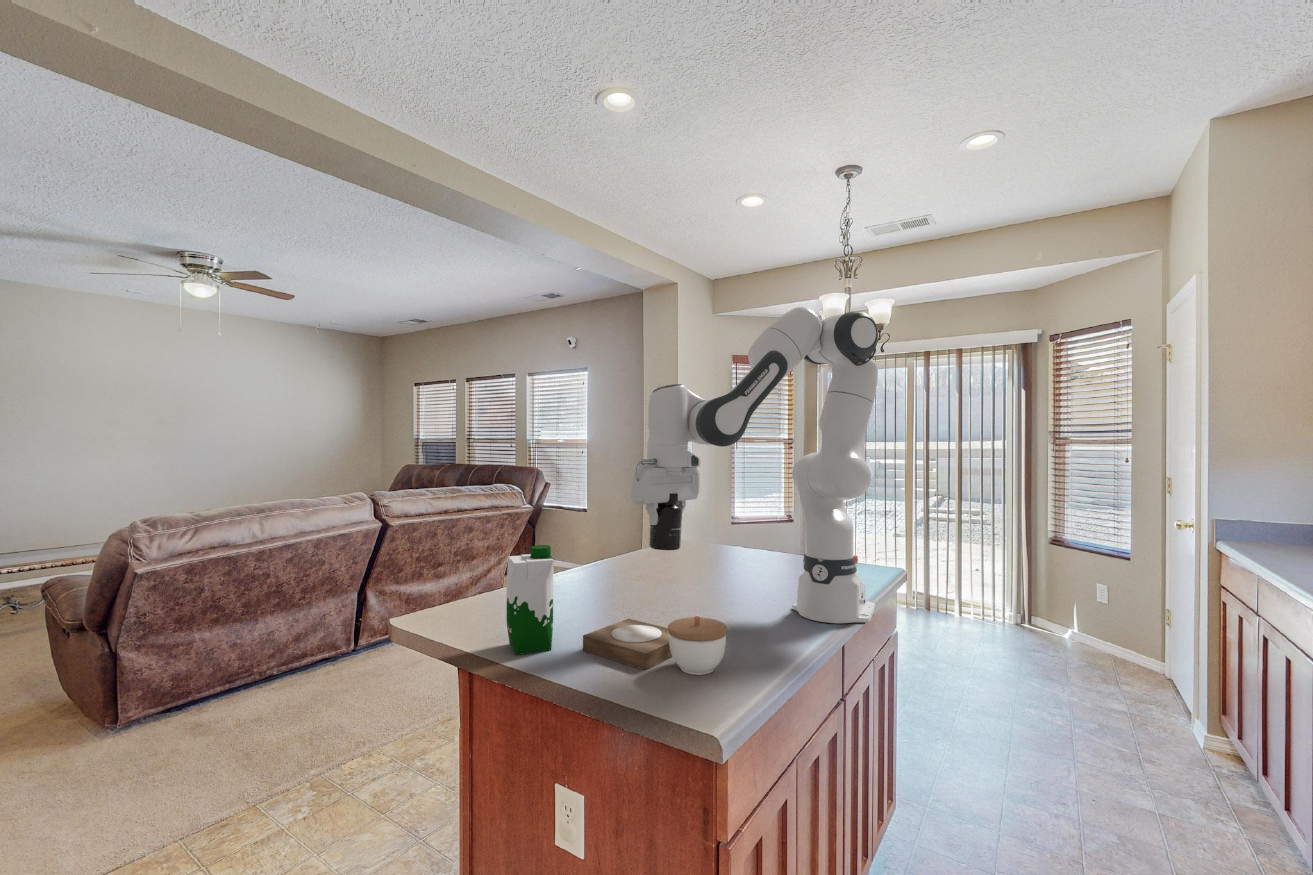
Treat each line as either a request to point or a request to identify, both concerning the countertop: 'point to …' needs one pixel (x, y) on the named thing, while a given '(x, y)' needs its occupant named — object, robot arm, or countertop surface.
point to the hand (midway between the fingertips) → (666, 522)
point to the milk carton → (530, 600)
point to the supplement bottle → (667, 526)
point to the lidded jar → (697, 644)
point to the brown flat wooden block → (630, 643)
